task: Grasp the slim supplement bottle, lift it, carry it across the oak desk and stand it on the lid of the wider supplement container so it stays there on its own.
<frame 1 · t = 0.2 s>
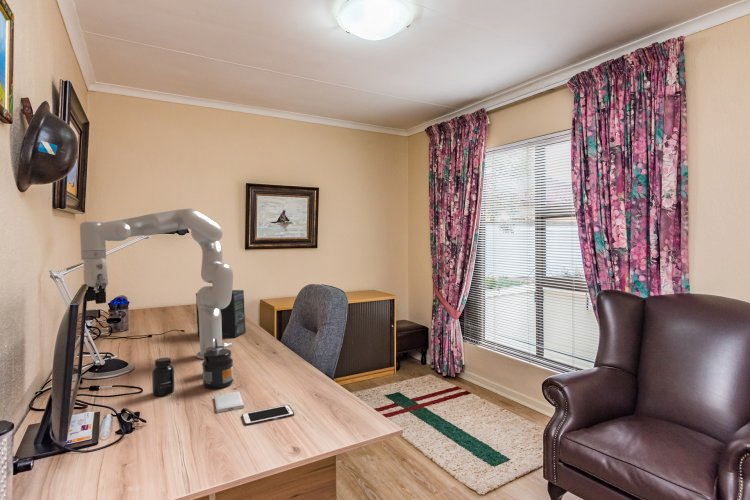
hand: (95, 302, 151), 31 cm above the table, tool pointing down, fingers open, 9 cm apart
headset box: (221, 335, 225), on the table
cell phone: (268, 417, 125), on the table
supplement container: (218, 385, 151), on the table
supplement bottle: (163, 393, 143), on the table
hard drive: (228, 405, 134), on the table
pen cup: (215, 373, 163), on the table
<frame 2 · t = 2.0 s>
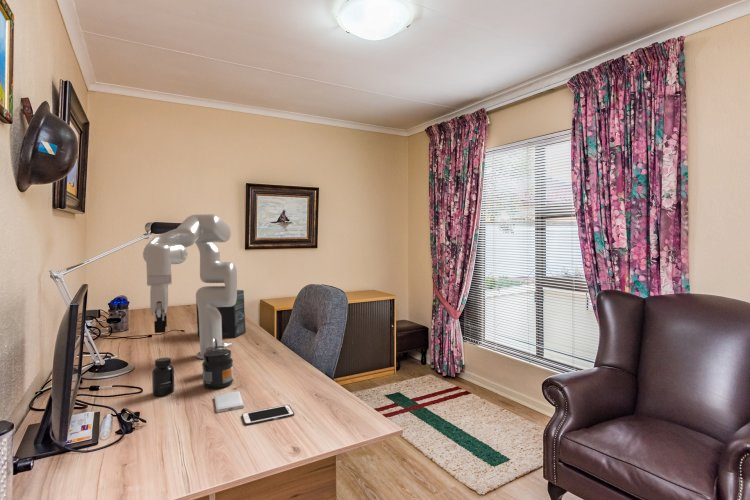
hand: (160, 329, 142), 22 cm above the table, tool pointing down, fingers open, 9 cm apart
nothing on the table moved.
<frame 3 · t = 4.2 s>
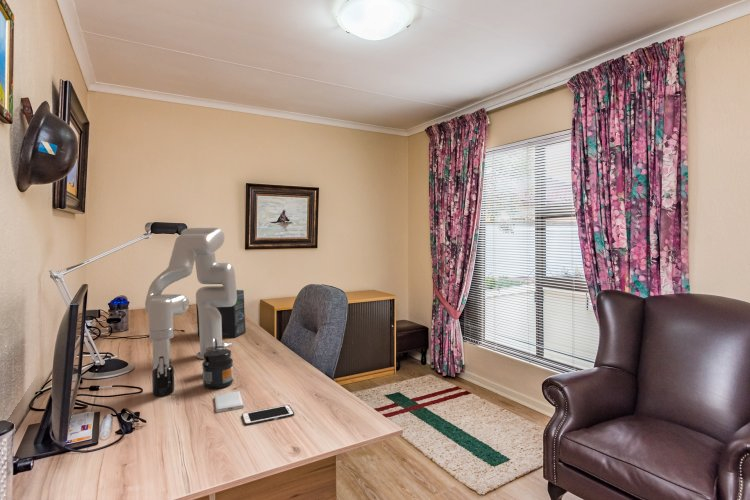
hand: (163, 383, 143), 3 cm above the table, tool pointing down, fingers closed on supplement bottle, 6 cm apart
supplement bottle: (163, 393, 143), on the table, touching gripper
everything else where it was.
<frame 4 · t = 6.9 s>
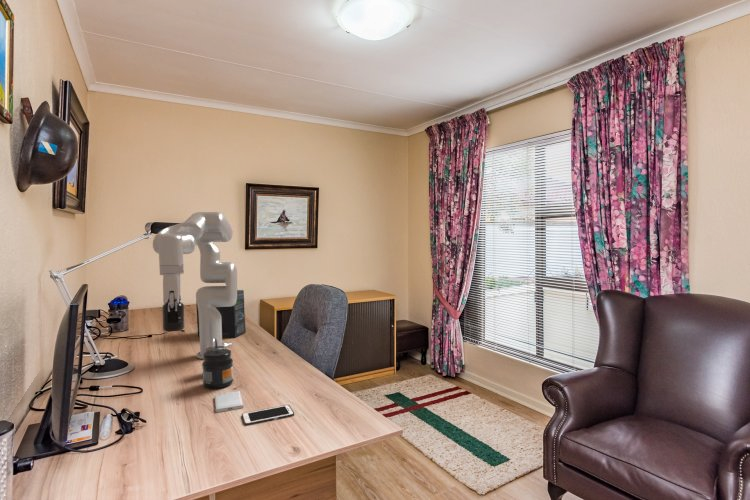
hand: (173, 320, 144), 25 cm above the table, tool pointing down, fingers closed on supplement bottle, 6 cm apart
supplement bottle: (174, 329, 144), point 22 cm above the table, touching gripper
everything else where it was.
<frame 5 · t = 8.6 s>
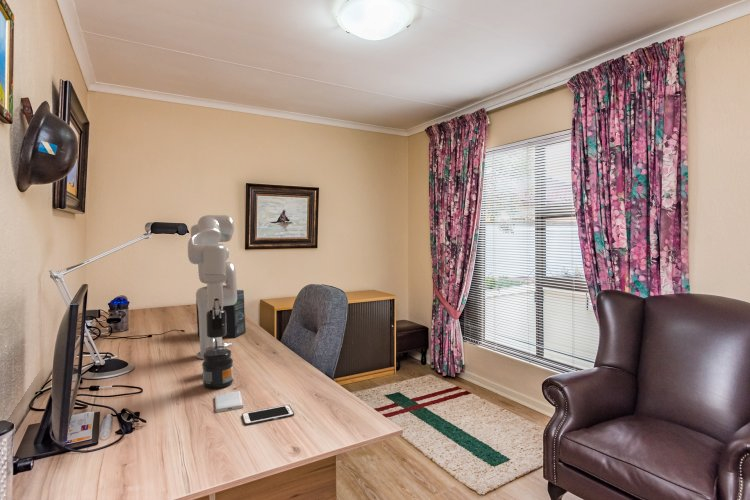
hand: (216, 326, 150), 21 cm above the table, tool pointing down, fingers closed on supplement bottle, 6 cm apart
supplement bottle: (216, 336, 150), point 18 cm above the table, touching gripper
everything else where it was.
when the fingers open (17 cm above the table, at t = 9.9 s): supplement bottle drops 1 cm, resting on supplement container.
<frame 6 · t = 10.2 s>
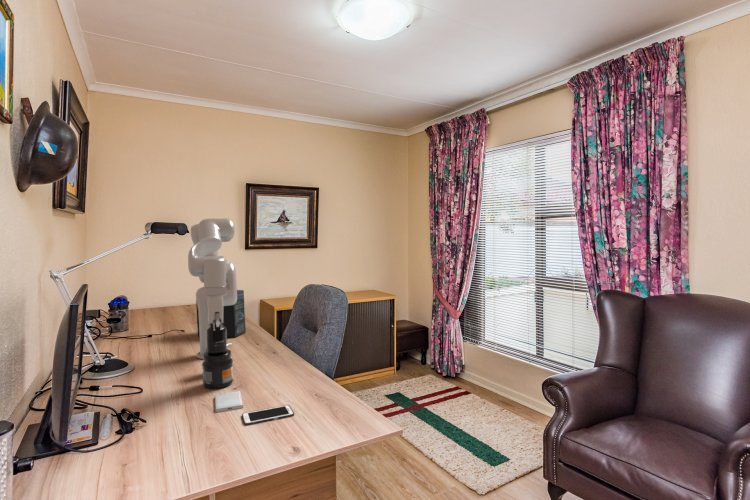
hand: (216, 338, 150), 17 cm above the table, tool pointing down, fingers open, 9 cm apart
supplement container: (218, 385, 151), on the table, touching supplement bottle
supplement bottle: (217, 352, 151), point 12 cm above the table, touching supplement container
everything else where it was.
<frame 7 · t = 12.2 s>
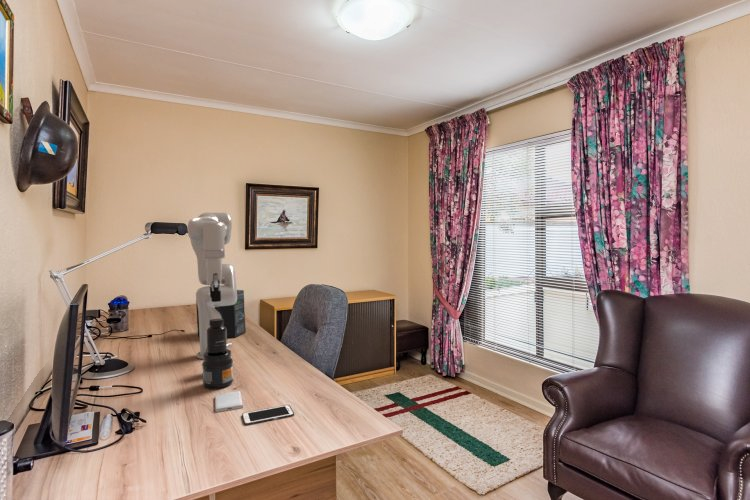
hand: (215, 299, 157), 30 cm above the table, tool pointing down, fingers open, 9 cm apart
nothing on the table moved.
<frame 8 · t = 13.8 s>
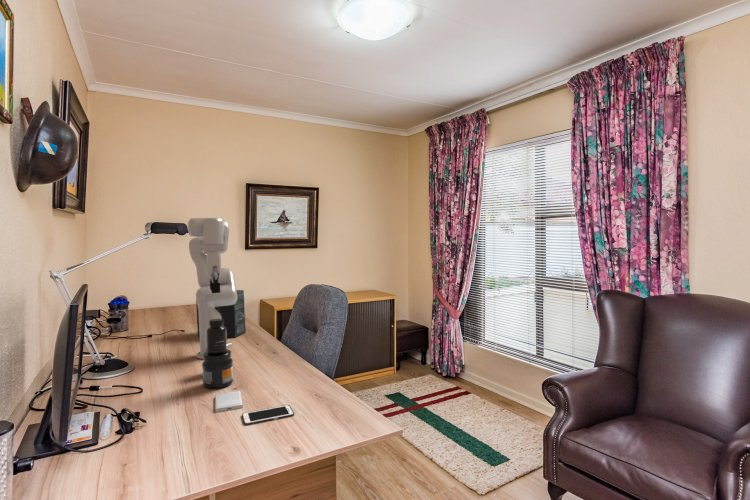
hand: (215, 291, 164), 32 cm above the table, tool pointing down, fingers open, 9 cm apart
nothing on the table moved.
at the end: supplement bottle 0.2 cm off-centre on the supplement container, point 12.0 cm above the supplement container's base; supplement bottle tilted 0°; the gripper is holding nothing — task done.
